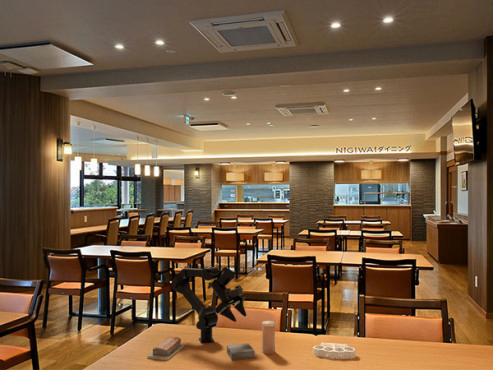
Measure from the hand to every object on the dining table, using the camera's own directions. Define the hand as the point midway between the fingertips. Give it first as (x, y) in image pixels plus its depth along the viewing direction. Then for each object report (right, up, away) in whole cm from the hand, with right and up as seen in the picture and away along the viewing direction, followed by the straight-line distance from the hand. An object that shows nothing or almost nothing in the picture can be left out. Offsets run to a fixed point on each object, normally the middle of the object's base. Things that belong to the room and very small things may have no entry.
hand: (240, 318), depth 199 cm
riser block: (0, -13, -8) cm, 16 cm away
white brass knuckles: (+41, -14, -8) cm, 44 cm away
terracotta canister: (+12, -13, -5) cm, 19 cm away
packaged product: (-33, -14, -4) cm, 36 cm away
